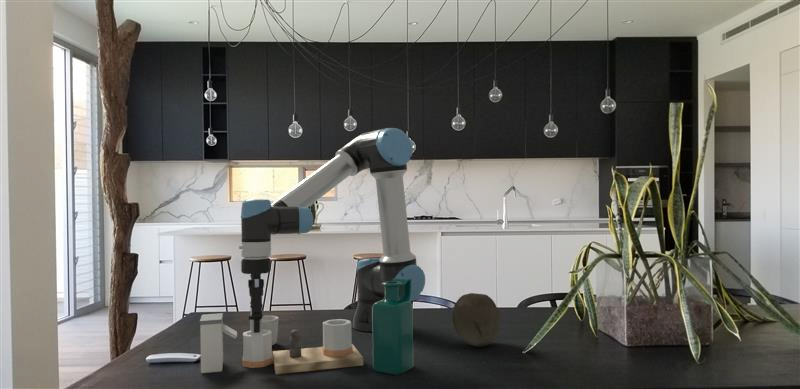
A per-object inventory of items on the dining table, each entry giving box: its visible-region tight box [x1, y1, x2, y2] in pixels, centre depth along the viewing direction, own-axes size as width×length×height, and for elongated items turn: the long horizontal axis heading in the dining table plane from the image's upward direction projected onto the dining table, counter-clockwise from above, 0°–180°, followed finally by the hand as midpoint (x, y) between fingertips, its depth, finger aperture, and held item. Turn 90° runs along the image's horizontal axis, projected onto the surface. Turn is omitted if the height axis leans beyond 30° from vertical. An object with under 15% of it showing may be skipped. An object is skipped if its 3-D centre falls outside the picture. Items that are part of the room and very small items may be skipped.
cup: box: [262, 315, 280, 346], centre depth 161 cm, size 11×8×8 cm
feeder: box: [199, 312, 238, 374], centre depth 142 cm, size 9×8×13 cm
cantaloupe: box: [451, 292, 501, 348], centre depth 158 cm, size 14×14×15 cm
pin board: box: [272, 329, 364, 375], centre depth 145 cm, size 22×14×9 cm, turn 106°
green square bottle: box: [371, 278, 414, 376], centre depth 138 cm, size 10×8×22 cm
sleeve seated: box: [321, 318, 353, 357], centre depth 146 cm, size 8×8×8 cm
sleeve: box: [242, 329, 274, 369], centre depth 144 cm, size 8×8×8 cm
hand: (255, 338), depth 144 cm, fingers open, 13 cm apart
